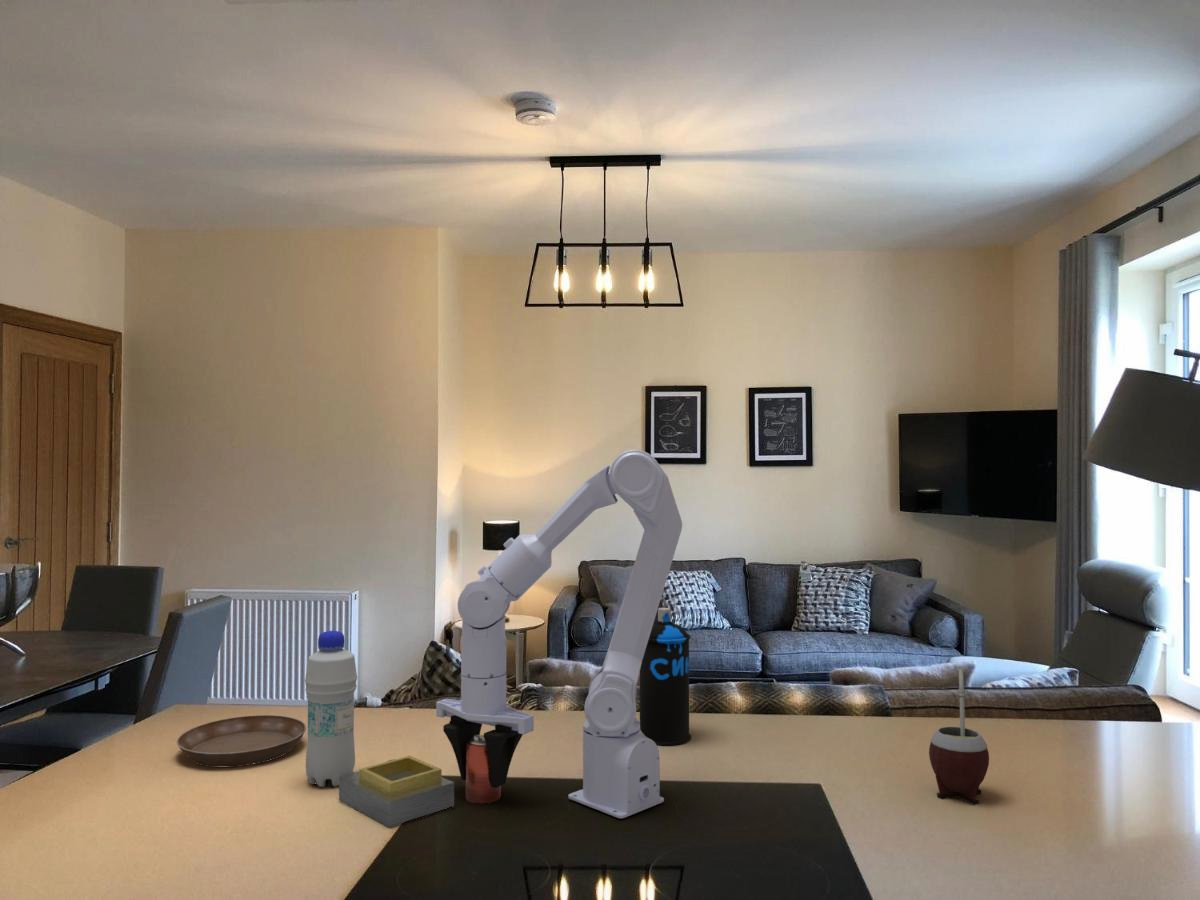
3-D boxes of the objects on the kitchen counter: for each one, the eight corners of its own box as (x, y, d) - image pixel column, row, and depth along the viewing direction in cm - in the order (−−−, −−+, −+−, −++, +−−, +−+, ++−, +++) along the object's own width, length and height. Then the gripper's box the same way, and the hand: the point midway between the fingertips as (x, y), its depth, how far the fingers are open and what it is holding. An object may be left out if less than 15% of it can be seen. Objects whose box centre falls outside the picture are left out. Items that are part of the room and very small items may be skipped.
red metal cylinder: (507, 797, 110) (507, 733, 110) (479, 806, 107) (480, 741, 107) (486, 788, 113) (486, 726, 113) (458, 797, 110) (459, 733, 110)
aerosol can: (628, 733, 136) (628, 606, 137) (674, 727, 140) (674, 603, 140) (653, 749, 129) (653, 614, 129) (701, 741, 132) (700, 610, 133)
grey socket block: (454, 806, 106) (454, 770, 107) (389, 828, 100) (389, 788, 100) (394, 779, 116) (395, 745, 116) (332, 796, 110) (333, 761, 110)
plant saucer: (266, 776, 118) (266, 754, 118) (149, 769, 121) (149, 747, 121) (326, 737, 135) (327, 717, 136) (223, 732, 138) (223, 712, 138)
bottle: (341, 792, 111) (342, 636, 112) (293, 788, 113) (295, 634, 113) (365, 774, 118) (366, 627, 119) (320, 771, 119) (321, 625, 120)
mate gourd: (953, 808, 106) (952, 685, 107) (914, 786, 114) (913, 671, 114) (1004, 802, 108) (1003, 681, 109) (962, 780, 116) (961, 668, 116)
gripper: (548, 674, 110) (548, 782, 109) (462, 660, 117) (461, 761, 117) (513, 686, 104) (513, 800, 103) (425, 671, 111) (424, 777, 111)
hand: (483, 781), depth 110 cm, fingers closed on red metal cylinder, 4 cm apart
